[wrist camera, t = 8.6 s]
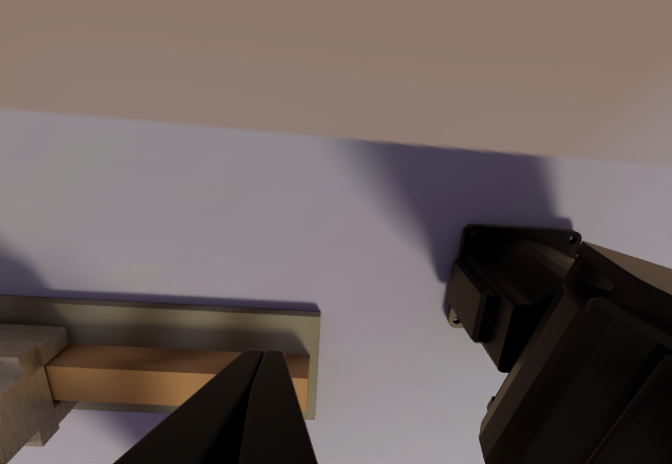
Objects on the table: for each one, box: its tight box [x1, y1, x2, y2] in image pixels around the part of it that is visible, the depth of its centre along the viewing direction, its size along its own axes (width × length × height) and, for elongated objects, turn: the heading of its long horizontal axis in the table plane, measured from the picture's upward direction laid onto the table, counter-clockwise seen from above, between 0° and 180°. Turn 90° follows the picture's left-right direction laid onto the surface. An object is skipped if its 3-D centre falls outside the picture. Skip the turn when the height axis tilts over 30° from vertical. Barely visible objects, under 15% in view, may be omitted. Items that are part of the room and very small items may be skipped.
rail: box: [0, 295, 321, 420], centre depth 20 cm, size 22×8×5 cm, turn 87°
